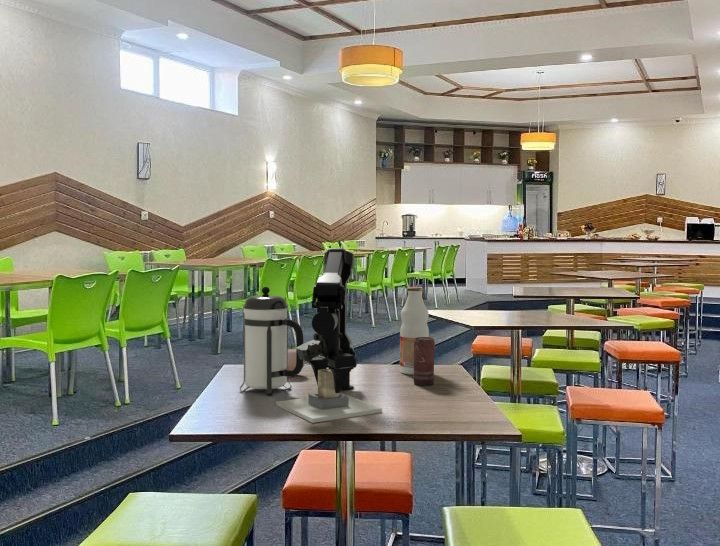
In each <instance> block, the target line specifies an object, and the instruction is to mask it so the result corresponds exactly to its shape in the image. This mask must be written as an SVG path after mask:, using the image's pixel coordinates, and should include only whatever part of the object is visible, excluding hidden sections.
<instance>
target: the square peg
mask: <svg viewBox="0 0 720 546" xmlns="http://www.w3.org/2000/svg"><path fill="white" fill-rule="evenodd" d="M317 393H318V397H321V398H323V399H327V398H334V397H339V393H335V388H334V378H333V373H332V371H331V370H330V369H329V368H327V369H322V370H318V385H317Z"/></svg>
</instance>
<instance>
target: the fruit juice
mask: <svg viewBox="0 0 720 546" xmlns="http://www.w3.org/2000/svg"><path fill="white" fill-rule="evenodd" d="M407 294H408V295H407V298H406V301H405V304H404V306H403V307H402V309H401V311H400V319H401V326H400V330H399V331H400V332H399V372H400V373H402V374H405V375H413V376H414V340H415V338H417V337H429V338H430V333H429V332H430V328H429V325H428V320H429V310H428V308H427V306H426V305H425V302H424V299H423V295H422V294H423V287H422V286H408V287H407Z"/></svg>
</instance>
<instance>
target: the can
mask: <svg viewBox="0 0 720 546" xmlns="http://www.w3.org/2000/svg"><path fill="white" fill-rule="evenodd" d="M435 341H436V340H435V339H434V338H433V337H430V336H429V337H417V338H415V340H414V375H413V380H412V381H413V384H414V385H415V386H419V387H420V386H421V387H427V386H428V387H429V386H432V385H433V384H434V381H435V380H434V379H435V349H436V342H435Z"/></svg>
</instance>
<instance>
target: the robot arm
mask: <svg viewBox="0 0 720 546" xmlns="http://www.w3.org/2000/svg"><path fill="white" fill-rule="evenodd" d="M346 249H347V248H346ZM346 249H345V248H343V247H342V248H341V247H329V248H327V250H326V252H324V254H323V266H324V272H323V275H321V276H319V277H317V281H316V283H315V284H314V285H313V290H312V298H311V309H317V313H315V314H314V316H313V317H312V320H311V327H312V329H313V331H314V333H313V338H312V339H311V340H308V341H306V342H303V344H302V345H300V346H298V347H297V348H296V350H297V353H298V356H299V358H300V360H304V361H305V362H307V363H308V364H309V365H310V366H311V369H312V371H313V374H314V377H315V380H316V381H315V382H316V384H317V386H318V370H322V369H330V370H331V371H332V373H333V378H334V388H335V393H341V391H343V390H349V389H350V390H351V389H355V386H353V385H351V383H350V382H351V379H350V378H351V375H350V374H351V371H352V370H353V369H355V368H357V363H358V360H357V353H356V351H355V350H354V347H352V340H351V339H350V337H349V335H348V333H347V304H348V303H347V301H348V300H347V297H348V296H347V295H348V293H347V292H348V291H347V290H348V287H347V286H348V282H349V280H350V278H351V277H352V275H353V269H355V263H356V261H355V260H356V259H355V254H354V253H353V252H350V251H347V250H346Z"/></svg>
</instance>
